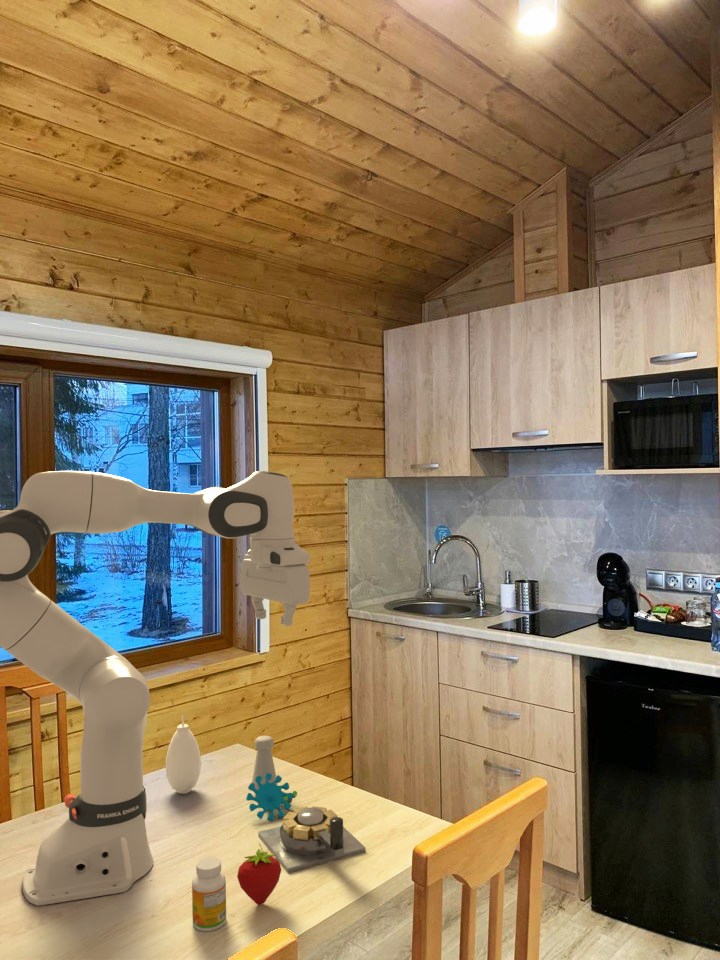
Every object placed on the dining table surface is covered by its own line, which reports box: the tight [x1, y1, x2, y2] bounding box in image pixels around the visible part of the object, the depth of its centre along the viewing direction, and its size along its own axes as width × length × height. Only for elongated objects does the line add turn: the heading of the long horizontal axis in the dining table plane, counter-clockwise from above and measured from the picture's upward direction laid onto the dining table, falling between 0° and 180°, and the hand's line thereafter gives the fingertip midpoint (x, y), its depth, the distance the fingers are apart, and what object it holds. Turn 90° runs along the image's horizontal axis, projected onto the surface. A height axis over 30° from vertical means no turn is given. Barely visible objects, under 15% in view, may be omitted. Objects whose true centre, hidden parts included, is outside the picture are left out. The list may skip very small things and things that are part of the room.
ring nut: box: [282, 805, 344, 857], centre depth 145 cm, size 10×18×6 cm, turn 27°
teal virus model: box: [245, 773, 298, 822], centre depth 163 cm, size 11×6×10 cm
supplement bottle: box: [191, 856, 227, 932], centre depth 123 cm, size 5×5×10 cm
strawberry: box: [236, 842, 282, 906], centre depth 128 cm, size 6×8×10 cm
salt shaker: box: [251, 735, 279, 790], centre depth 172 cm, size 6×6×13 cm
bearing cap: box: [257, 807, 367, 873], centre depth 149 cm, size 16×16×6 cm
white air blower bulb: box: [165, 713, 202, 795], centre depth 173 cm, size 8×8×18 cm
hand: (273, 621), depth 151 cm, fingers open, 8 cm apart
